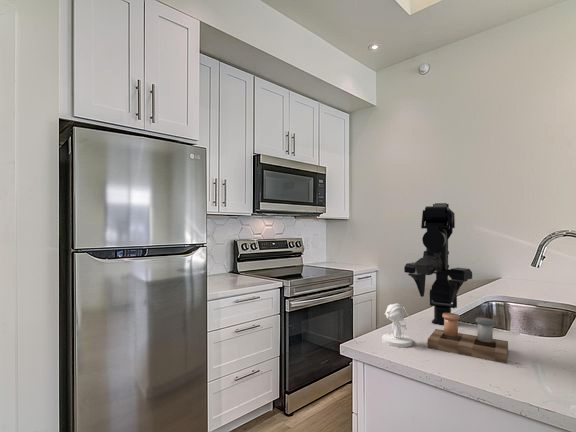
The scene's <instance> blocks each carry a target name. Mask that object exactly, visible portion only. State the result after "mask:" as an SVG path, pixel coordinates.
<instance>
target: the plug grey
mask: <svg viewBox="0 0 576 432" xmlns="http://www.w3.org/2000/svg"><path fill="white" fill-rule="evenodd" d="M495 322H496V320H494V319H492V318H487V317H476V318H475V323H476V324H477V336H478V340H479V341H482V342H493V339H494V337H493V336H494V335H493V334H494V333H493V332H494V329H493V328H494V327H493V326H495Z"/></svg>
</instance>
